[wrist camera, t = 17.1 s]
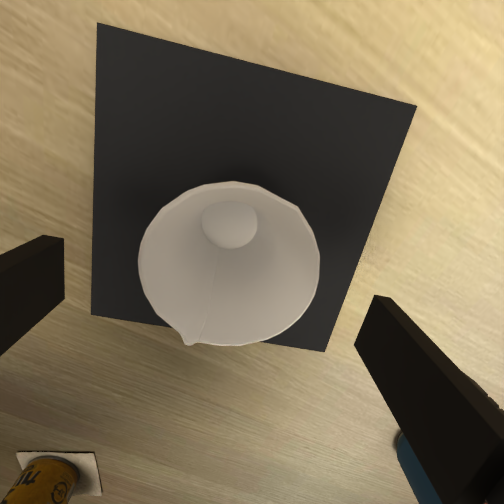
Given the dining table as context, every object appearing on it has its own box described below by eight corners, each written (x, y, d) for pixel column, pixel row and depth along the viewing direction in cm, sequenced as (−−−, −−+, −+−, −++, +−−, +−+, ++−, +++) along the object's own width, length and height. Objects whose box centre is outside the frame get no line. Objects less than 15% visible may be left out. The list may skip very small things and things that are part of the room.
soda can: (405, 467, 35) (481, 620, 24) (381, 434, 33) (452, 586, 22) (460, 443, 34) (568, 593, 23) (439, 408, 32) (546, 555, 20)
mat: (92, 313, 26) (90, 314, 26) (99, 24, 18) (96, 22, 18) (323, 350, 28) (324, 352, 28) (415, 106, 21) (417, 105, 20)
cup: (157, 239, 23) (100, 305, 14) (218, 138, 21) (198, 136, 11) (247, 293, 25) (249, 381, 16) (313, 207, 23) (362, 253, 13)
